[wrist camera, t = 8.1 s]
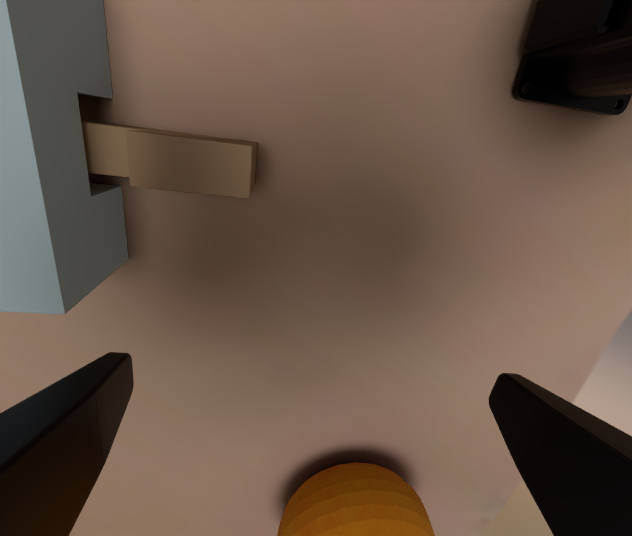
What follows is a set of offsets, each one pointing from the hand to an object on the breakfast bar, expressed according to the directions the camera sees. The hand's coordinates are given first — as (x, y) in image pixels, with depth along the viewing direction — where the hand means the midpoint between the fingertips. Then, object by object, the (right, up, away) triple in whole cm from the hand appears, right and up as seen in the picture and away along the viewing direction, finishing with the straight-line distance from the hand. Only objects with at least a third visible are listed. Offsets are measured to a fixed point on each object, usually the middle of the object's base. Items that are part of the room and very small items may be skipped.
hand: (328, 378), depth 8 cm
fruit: (+2, -16, +20) cm, 26 cm away
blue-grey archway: (-11, +9, +8) cm, 16 cm away
